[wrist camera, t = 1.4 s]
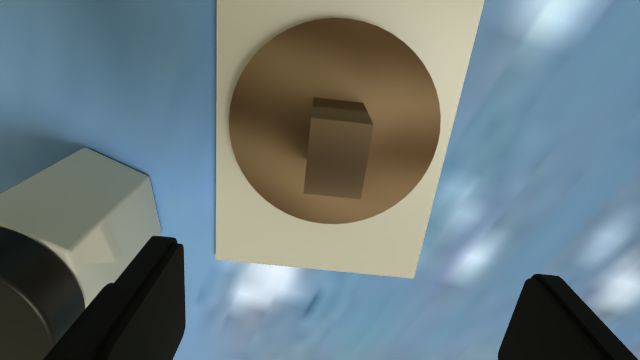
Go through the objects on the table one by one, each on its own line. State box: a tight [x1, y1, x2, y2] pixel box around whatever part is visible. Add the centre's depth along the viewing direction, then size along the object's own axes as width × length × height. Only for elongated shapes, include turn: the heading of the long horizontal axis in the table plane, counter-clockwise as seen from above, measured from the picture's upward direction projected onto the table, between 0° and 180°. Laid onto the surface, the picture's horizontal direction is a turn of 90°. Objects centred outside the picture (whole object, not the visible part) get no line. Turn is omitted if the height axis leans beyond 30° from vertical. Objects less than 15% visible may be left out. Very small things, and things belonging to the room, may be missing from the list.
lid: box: [229, 18, 441, 224], centre depth 22 cm, size 13×13×6 cm
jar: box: [0, 148, 162, 360], centre depth 22 cm, size 9×8×12 cm
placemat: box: [216, 0, 485, 278], centre depth 25 cm, size 20×15×1 cm
